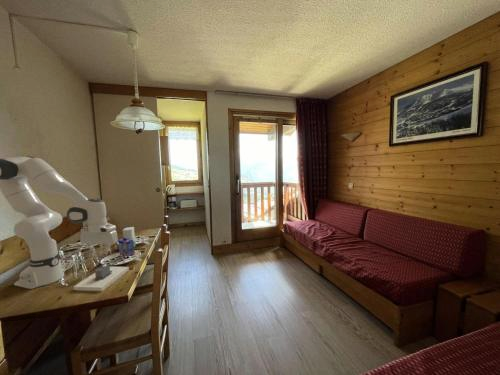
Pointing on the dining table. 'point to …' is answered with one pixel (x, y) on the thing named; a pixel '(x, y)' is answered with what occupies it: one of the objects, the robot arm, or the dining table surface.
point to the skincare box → (129, 234)
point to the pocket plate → (101, 284)
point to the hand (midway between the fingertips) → (99, 250)
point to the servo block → (102, 272)
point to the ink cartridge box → (126, 247)
